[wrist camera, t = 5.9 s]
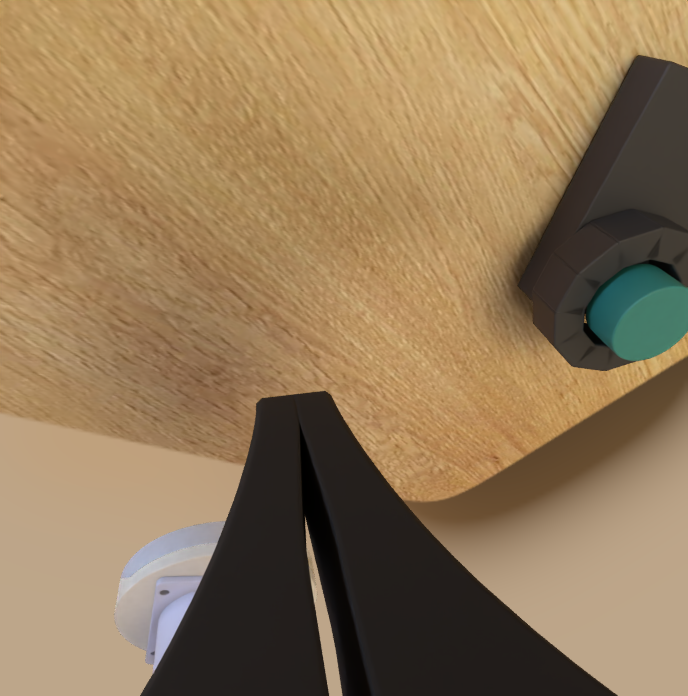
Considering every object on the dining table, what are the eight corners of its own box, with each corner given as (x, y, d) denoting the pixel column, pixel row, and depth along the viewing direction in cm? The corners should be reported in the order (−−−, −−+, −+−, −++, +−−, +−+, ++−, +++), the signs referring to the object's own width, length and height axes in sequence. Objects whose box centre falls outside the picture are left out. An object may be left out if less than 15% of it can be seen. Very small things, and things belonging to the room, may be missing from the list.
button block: (637, 338, 25) (688, 383, 22) (489, 313, 23) (526, 361, 20) (795, 115, 20) (888, 139, 17) (623, 49, 17) (701, 63, 14)
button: (633, 339, 21) (662, 366, 19) (569, 329, 20) (595, 356, 18) (681, 270, 19) (717, 294, 18) (615, 256, 18) (647, 279, 17)
